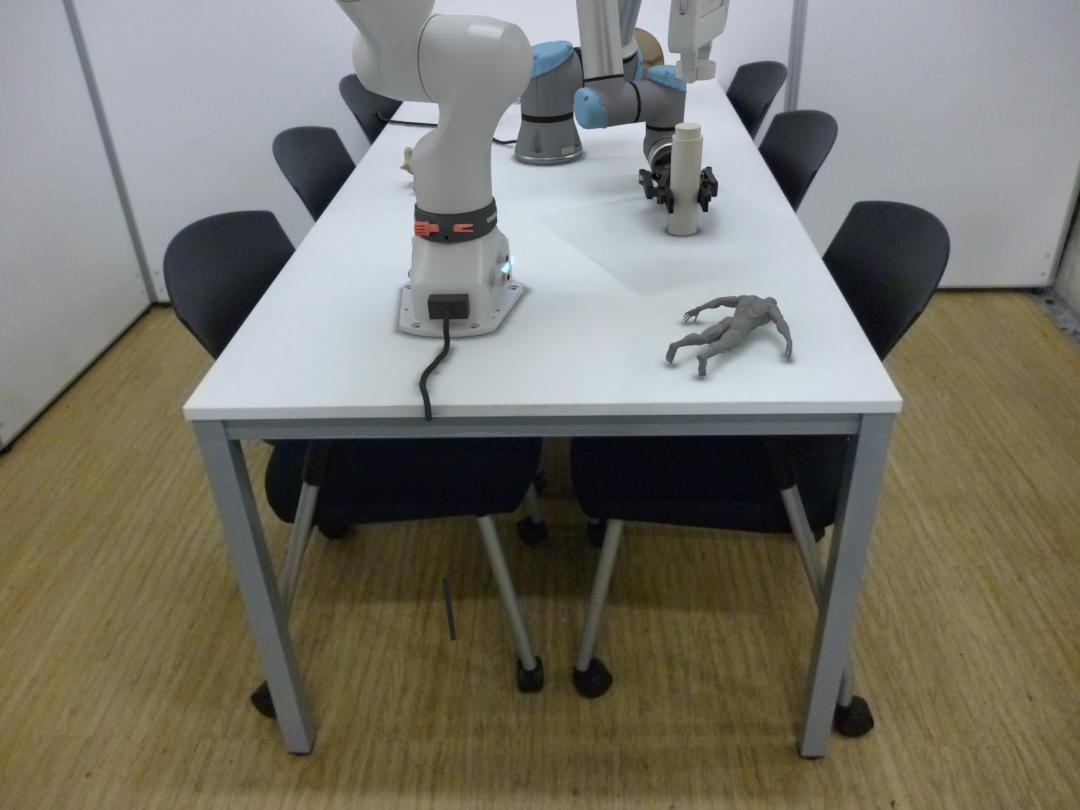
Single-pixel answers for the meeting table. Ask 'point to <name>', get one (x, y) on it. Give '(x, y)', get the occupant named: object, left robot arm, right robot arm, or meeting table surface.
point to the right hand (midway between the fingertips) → (688, 205)
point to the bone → (408, 161)
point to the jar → (685, 178)
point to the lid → (699, 69)
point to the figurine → (732, 326)
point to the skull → (648, 50)
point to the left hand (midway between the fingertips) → (695, 78)
